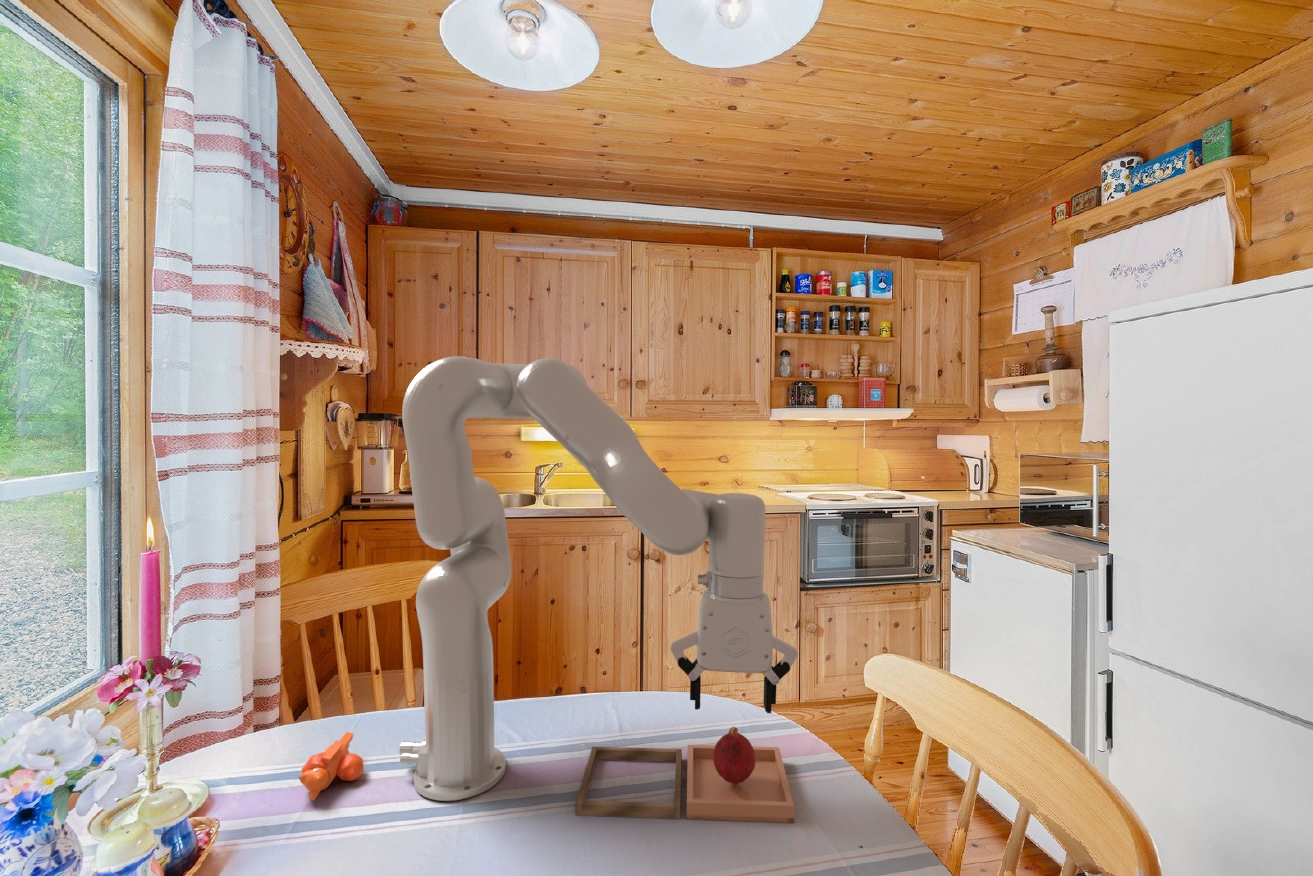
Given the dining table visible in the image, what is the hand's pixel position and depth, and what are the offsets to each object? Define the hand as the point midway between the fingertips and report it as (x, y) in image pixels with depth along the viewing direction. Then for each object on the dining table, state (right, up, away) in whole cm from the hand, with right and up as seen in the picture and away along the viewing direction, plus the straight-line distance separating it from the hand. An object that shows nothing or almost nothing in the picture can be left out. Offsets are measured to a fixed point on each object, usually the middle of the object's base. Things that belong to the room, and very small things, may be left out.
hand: (732, 706), depth 84 cm
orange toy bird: (-56, -12, +3) cm, 57 cm away
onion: (+1, -11, 0) cm, 11 cm away
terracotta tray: (+1, -12, 0) cm, 12 cm away
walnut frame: (-14, -12, +1) cm, 18 cm away
